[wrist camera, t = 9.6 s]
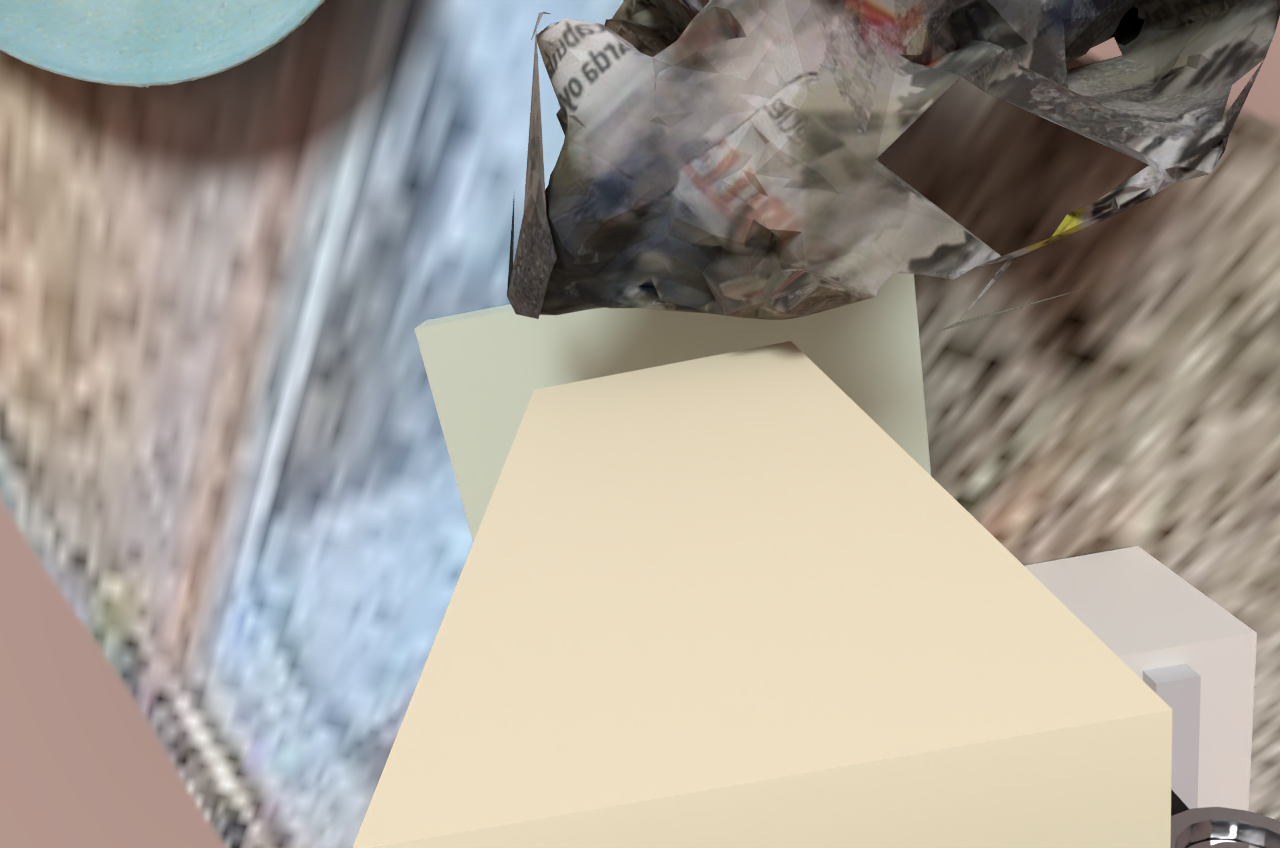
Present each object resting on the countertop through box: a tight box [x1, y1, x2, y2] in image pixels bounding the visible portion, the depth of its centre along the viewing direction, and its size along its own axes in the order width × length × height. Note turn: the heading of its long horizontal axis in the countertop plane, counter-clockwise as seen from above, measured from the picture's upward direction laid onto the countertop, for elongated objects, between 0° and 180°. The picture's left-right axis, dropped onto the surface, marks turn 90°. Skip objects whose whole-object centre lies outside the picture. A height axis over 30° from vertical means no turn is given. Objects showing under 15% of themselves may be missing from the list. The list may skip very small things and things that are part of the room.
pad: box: [415, 273, 931, 542], centre depth 21 cm, size 12×9×1 cm
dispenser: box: [1024, 546, 1257, 811], centre depth 22 cm, size 12×12×5 cm
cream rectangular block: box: [353, 341, 1172, 848], centre depth 11 cm, size 5×7×11 cm
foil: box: [507, 0, 1280, 332], centre depth 16 cm, size 12×11×15 cm
